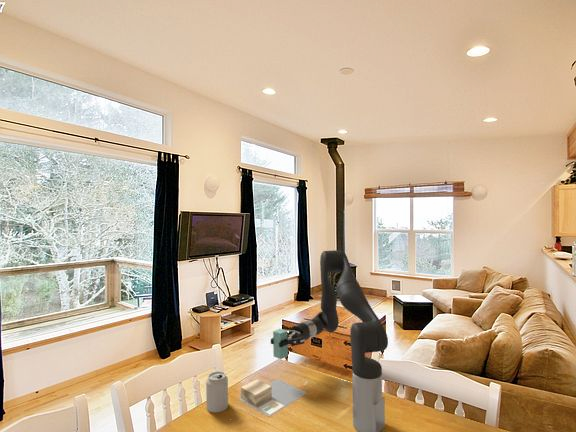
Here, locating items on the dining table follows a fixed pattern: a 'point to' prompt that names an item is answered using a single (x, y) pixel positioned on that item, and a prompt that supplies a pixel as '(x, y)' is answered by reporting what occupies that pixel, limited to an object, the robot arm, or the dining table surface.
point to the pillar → (278, 336)
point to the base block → (256, 392)
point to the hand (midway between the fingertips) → (275, 343)
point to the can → (217, 392)
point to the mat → (278, 397)
